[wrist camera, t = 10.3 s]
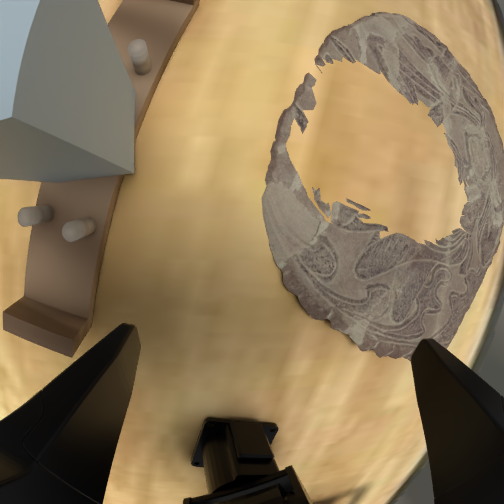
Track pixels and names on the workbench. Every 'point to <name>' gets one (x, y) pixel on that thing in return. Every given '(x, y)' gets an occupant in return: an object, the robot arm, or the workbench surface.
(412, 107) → the workbench surface
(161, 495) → the workbench surface
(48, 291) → the rail
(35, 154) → the frame block
